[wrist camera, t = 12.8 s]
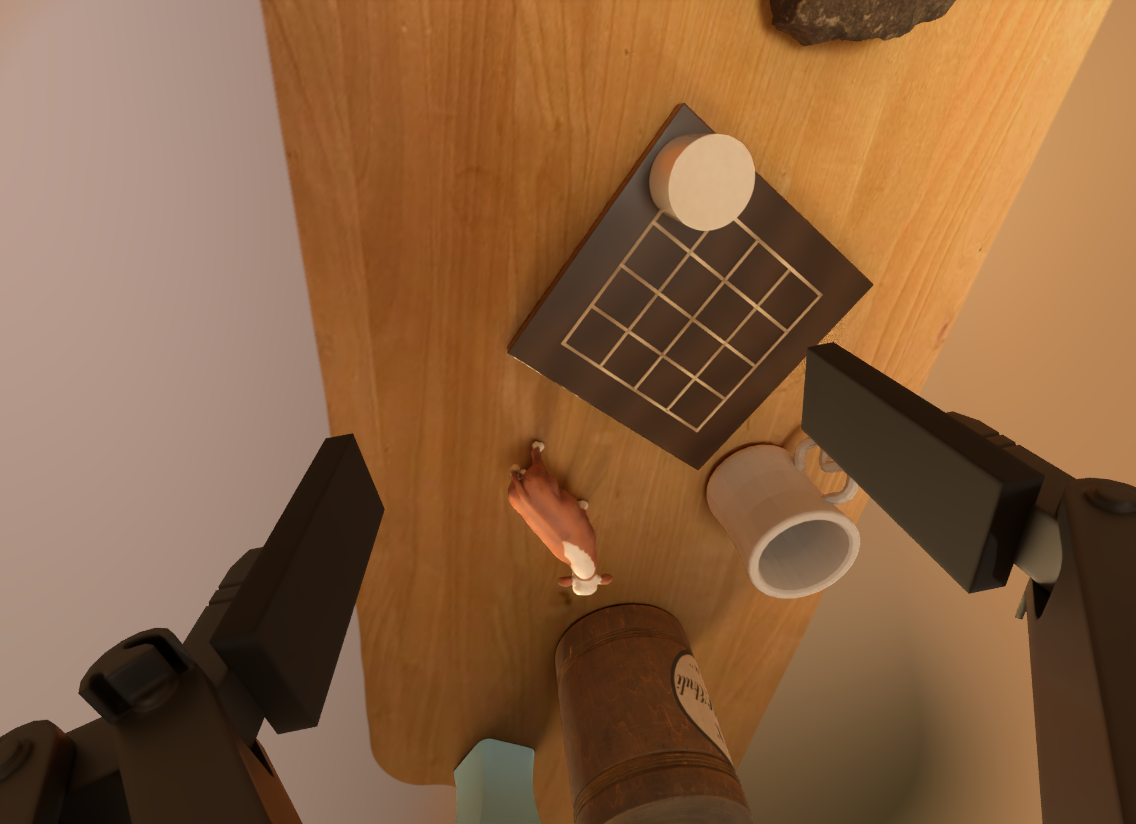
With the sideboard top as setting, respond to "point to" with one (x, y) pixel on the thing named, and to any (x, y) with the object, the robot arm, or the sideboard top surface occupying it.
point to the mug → (784, 519)
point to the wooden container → (641, 725)
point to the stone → (853, 18)
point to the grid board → (687, 310)
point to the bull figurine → (557, 522)
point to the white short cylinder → (702, 180)
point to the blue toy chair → (496, 785)
